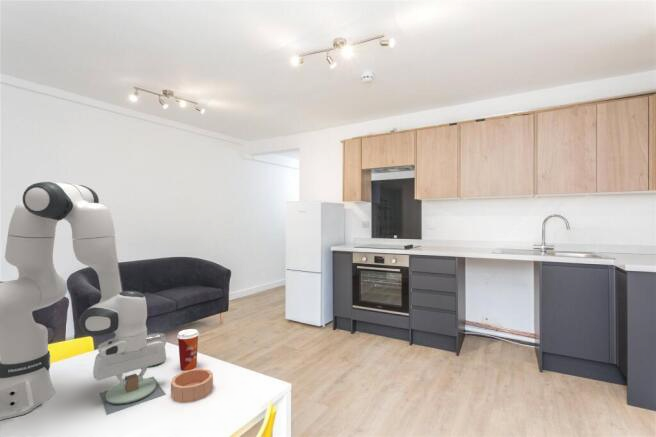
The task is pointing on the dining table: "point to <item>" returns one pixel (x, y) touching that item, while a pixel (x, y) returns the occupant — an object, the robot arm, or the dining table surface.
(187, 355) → the paper cup
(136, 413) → the dining table surface
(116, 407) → the mat
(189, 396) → the bowl
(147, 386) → the cover
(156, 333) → the canned tomato
